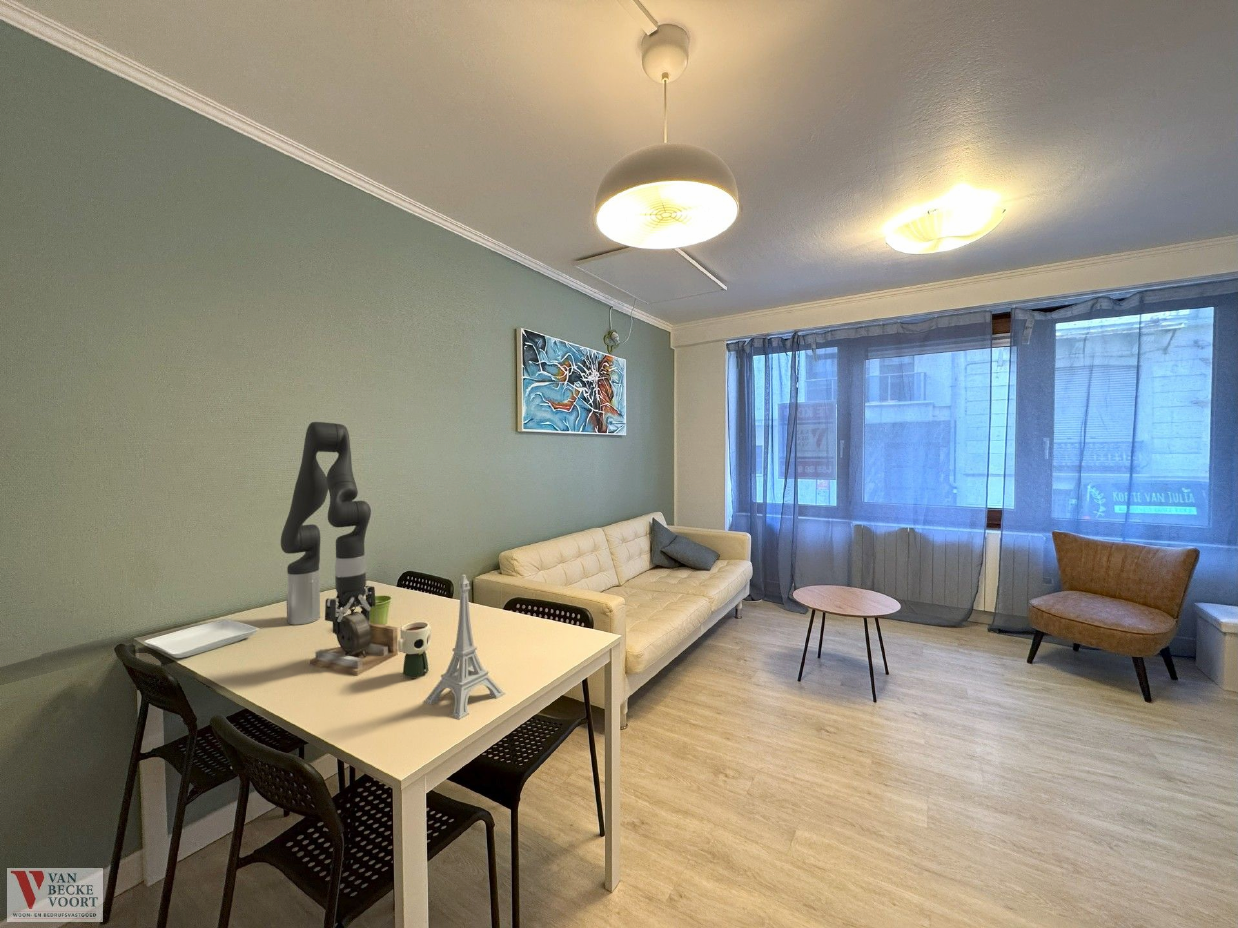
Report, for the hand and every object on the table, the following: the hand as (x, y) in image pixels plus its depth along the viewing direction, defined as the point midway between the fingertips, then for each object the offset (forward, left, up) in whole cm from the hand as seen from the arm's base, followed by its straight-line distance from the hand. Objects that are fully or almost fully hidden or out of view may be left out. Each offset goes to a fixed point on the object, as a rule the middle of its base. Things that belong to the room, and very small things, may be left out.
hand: (351, 628), depth 134 cm
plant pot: (-16, +23, -9) cm, 30 cm away
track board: (0, 0, -9) cm, 9 cm away
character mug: (+23, 0, -9) cm, 25 cm away
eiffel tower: (+43, -5, -10) cm, 44 cm away
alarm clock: (0, 0, -8) cm, 8 cm away
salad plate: (-53, -8, -10) cm, 55 cm away
